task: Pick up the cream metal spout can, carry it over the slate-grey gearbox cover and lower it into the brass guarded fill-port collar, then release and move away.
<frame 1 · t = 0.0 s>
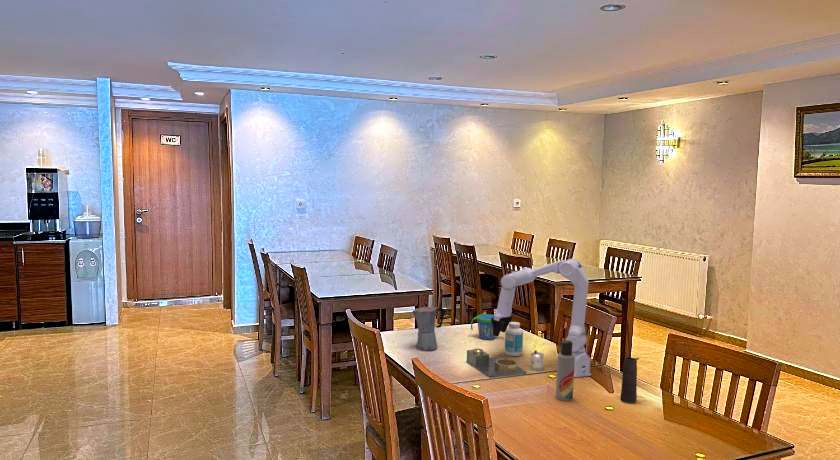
hand: (499, 333, 245), 11 cm above the table, tool pointing down, fingers open, 7 cm apart
butter churn: (631, 401, 202), on the table
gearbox: (506, 369, 232), on the table
moka pot: (427, 348, 258), on the table
pill bottle: (513, 354, 252), on the table
lotion bottle: (564, 398, 203), on the table
snack cup: (487, 338, 277), on the table
spout can: (536, 368, 233), on the table
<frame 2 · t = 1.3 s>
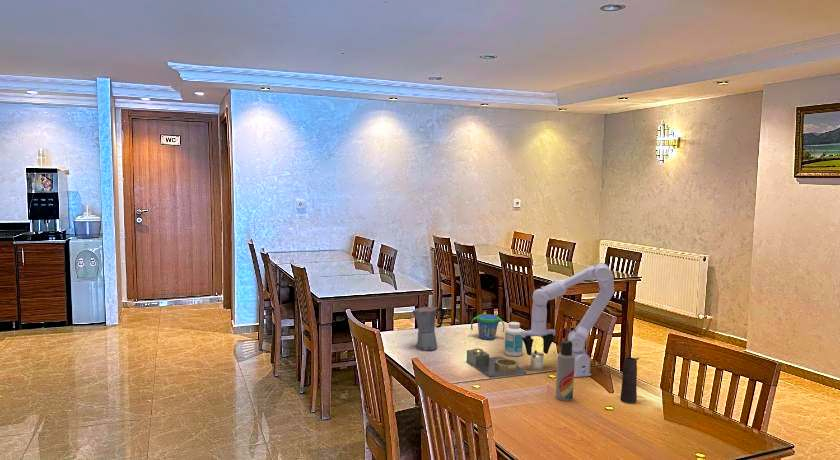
hand: (537, 353, 233), 6 cm above the table, tool pointing down, fingers open, 7 cm apart
nothing on the table moved.
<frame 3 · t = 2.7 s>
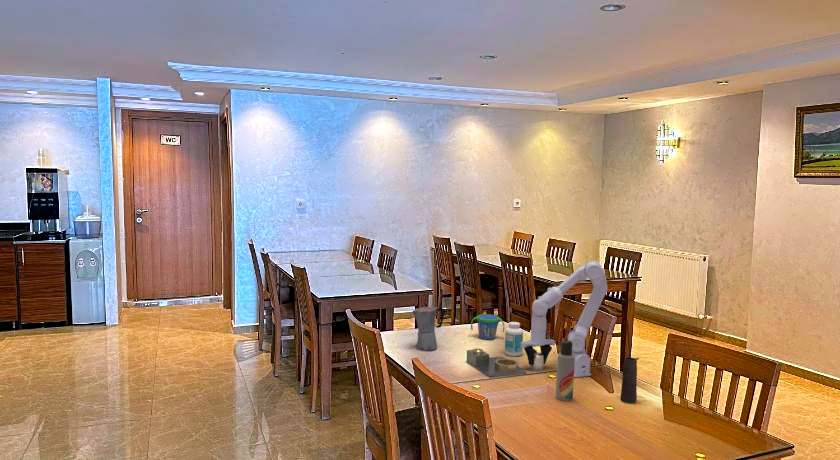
hand: (537, 364, 233), 2 cm above the table, tool pointing down, fingers closed on spout can, 5 cm apart
spout can: (536, 368, 233), on the table, touching gripper
everything else where it was.
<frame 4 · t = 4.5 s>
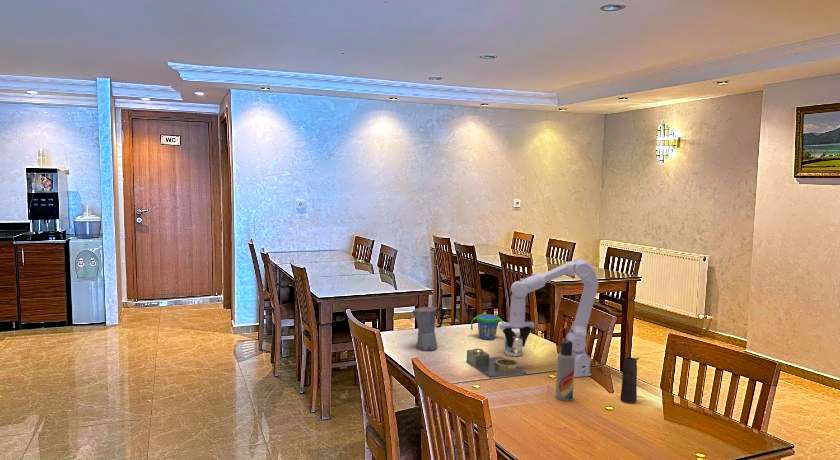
hand: (516, 346, 232), 9 cm above the table, tool pointing down, fingers closed on spout can, 5 cm apart
spout can: (515, 352, 232), point 7 cm above the table, touching gripper
everything else where it was.
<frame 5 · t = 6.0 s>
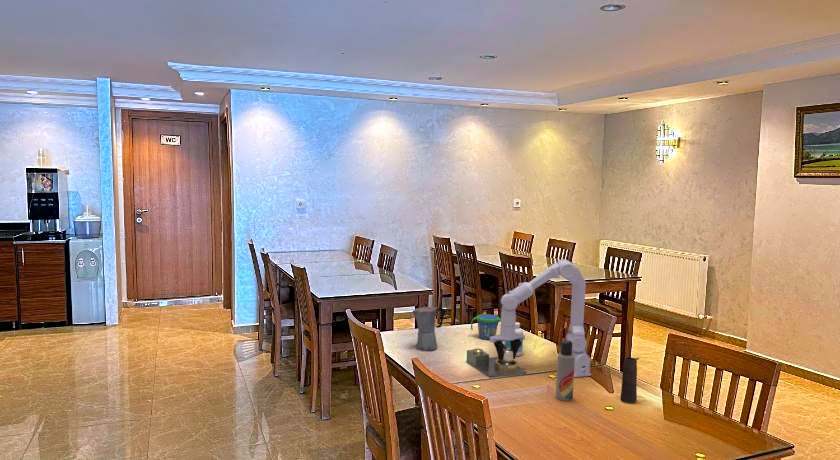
hand: (506, 359, 232), 4 cm above the table, tool pointing down, fingers closed on spout can, 5 cm apart
spout can: (506, 364, 232), point 2 cm above the table, touching gripper
everything else where it was.
when the fingers open (4 cm above the table, at t = 6.8 s): spout can drops 1 cm, resting on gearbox.
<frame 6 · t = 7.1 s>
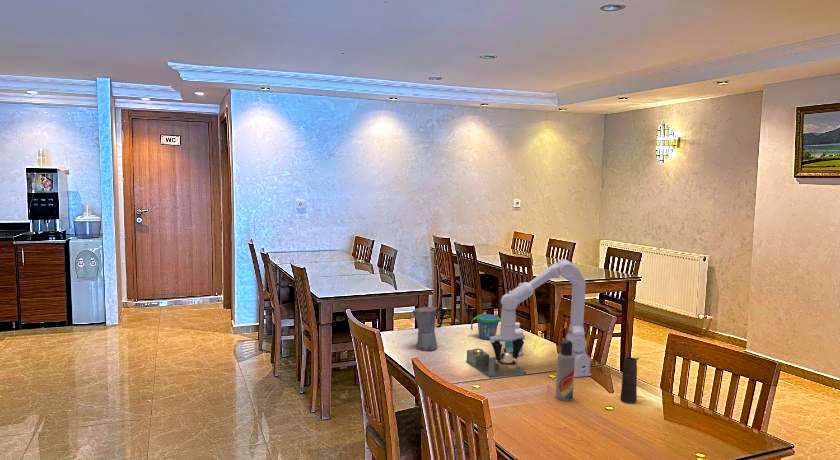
hand: (506, 359, 232), 4 cm above the table, tool pointing down, fingers open, 7 cm apart
spout can: (506, 367, 232), point 1 cm above the table, touching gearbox
everything else where it was.
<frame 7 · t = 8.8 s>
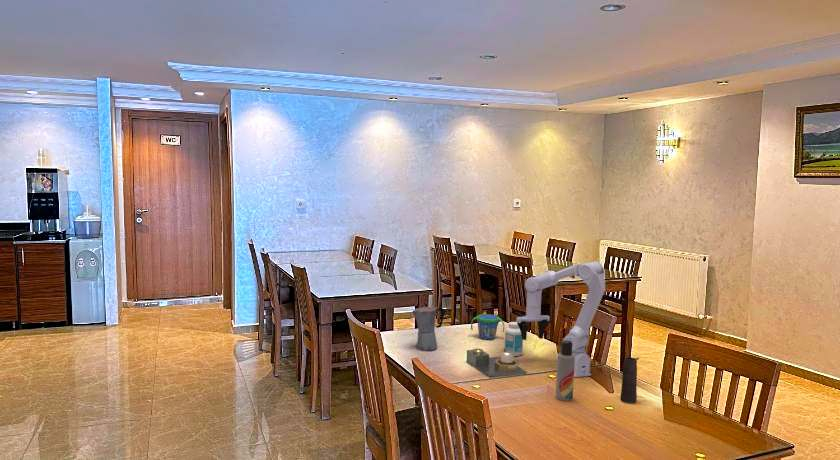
hand: (532, 338, 242), 9 cm above the table, tool pointing down, fingers open, 7 cm apart
nothing on the table moved.
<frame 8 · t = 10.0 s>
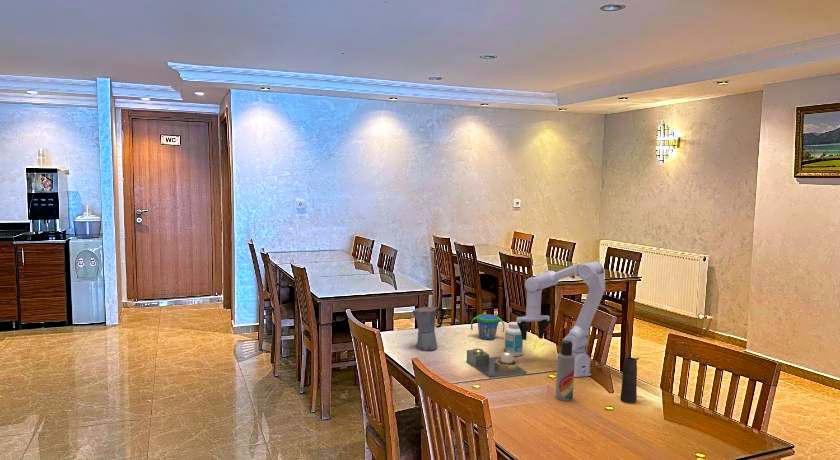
hand: (532, 338, 242), 9 cm above the table, tool pointing down, fingers open, 7 cm apart
nothing on the table moved.
at the end: spout can 0.1 cm off-centre on the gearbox, point 0.8 cm above the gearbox's base; spout can tilted 0°; the gripper is holding nothing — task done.
